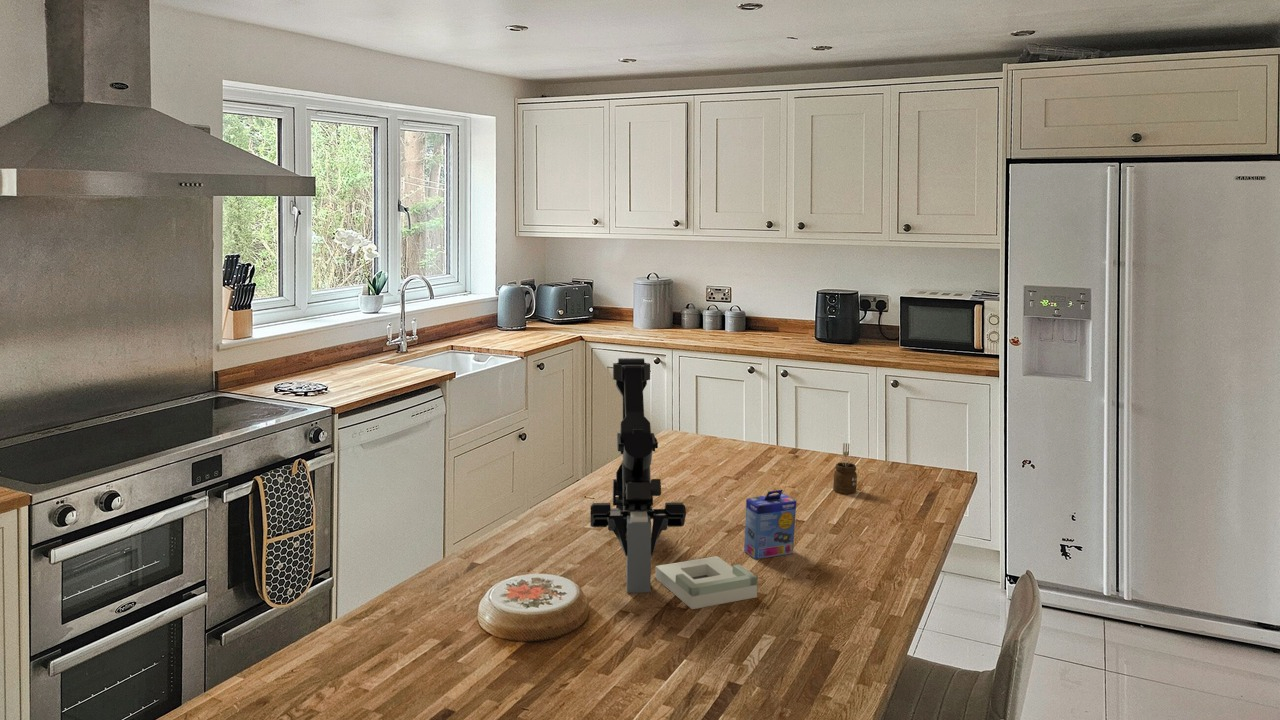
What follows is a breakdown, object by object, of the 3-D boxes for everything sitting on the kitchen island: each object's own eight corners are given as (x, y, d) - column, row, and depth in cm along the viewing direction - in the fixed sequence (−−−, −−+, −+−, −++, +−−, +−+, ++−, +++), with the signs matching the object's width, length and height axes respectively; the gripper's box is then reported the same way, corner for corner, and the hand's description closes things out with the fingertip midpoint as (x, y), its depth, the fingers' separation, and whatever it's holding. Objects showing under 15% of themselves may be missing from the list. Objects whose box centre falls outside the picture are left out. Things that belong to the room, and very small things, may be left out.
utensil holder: (833, 493, 250) (835, 448, 248) (832, 486, 257) (834, 442, 254) (856, 495, 250) (859, 450, 247) (855, 488, 256) (857, 443, 254)
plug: (626, 583, 192) (626, 510, 190) (648, 583, 192) (649, 510, 190) (627, 592, 188) (627, 518, 185) (650, 592, 188) (651, 518, 185)
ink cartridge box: (755, 560, 205) (758, 494, 202) (742, 551, 210) (744, 487, 207) (795, 554, 209) (798, 489, 206) (781, 545, 214) (783, 482, 211)
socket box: (655, 577, 195) (655, 558, 194) (716, 567, 201) (717, 548, 200) (691, 609, 181) (692, 588, 180) (756, 597, 186) (757, 577, 186)
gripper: (590, 463, 189) (590, 537, 180) (686, 463, 190) (690, 537, 181) (590, 490, 198) (590, 561, 189) (681, 489, 199) (685, 561, 191)
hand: (638, 555), depth 187 cm, fingers closed on plug, 4 cm apart
